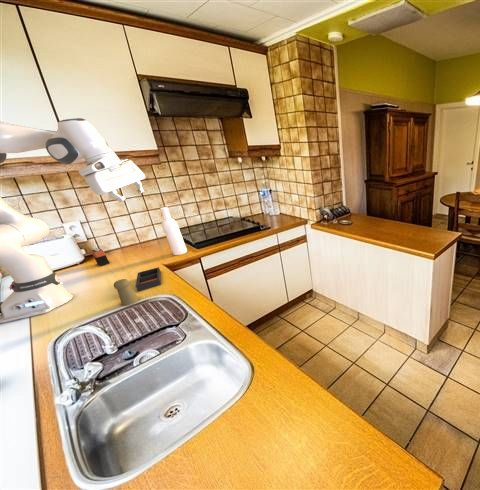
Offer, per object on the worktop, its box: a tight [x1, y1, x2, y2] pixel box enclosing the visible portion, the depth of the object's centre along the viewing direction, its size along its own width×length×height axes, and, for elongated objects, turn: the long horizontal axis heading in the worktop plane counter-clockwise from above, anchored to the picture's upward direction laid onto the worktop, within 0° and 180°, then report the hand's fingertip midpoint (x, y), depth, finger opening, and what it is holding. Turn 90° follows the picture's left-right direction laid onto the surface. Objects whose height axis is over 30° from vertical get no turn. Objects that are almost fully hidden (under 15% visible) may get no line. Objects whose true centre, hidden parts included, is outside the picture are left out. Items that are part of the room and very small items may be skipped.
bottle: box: [159, 206, 188, 256], centre depth 165 cm, size 8×8×30 cm
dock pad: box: [135, 266, 162, 292], centre depth 137 cm, size 9×18×3 cm, turn 36°
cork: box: [113, 278, 139, 307], centre depth 118 cm, size 6×6×11 cm
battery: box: [90, 247, 110, 267], centre depth 160 cm, size 4×7×10 cm, turn 56°
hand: (133, 197), depth 106 cm, fingers open, 8 cm apart
